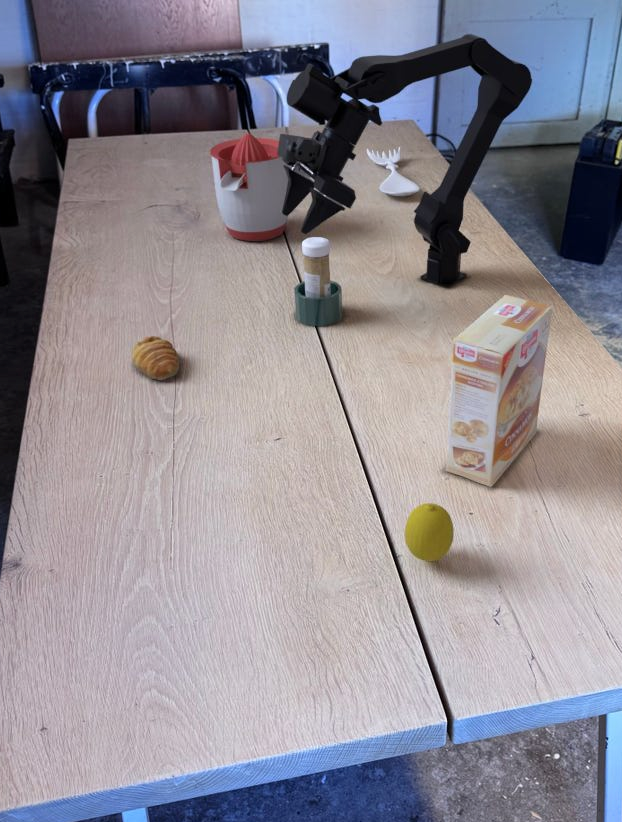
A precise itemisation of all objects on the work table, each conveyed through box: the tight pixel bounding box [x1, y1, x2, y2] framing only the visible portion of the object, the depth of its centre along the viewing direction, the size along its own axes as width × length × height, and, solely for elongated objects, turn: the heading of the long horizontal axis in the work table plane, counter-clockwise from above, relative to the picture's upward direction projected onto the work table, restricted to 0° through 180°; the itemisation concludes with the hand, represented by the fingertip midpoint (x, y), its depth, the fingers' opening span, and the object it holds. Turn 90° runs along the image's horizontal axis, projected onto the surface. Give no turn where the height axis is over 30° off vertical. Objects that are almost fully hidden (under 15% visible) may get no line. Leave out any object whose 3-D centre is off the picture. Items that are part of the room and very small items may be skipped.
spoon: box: [366, 146, 420, 197], centre depth 208 cm, size 9×32×4 cm, turn 7°
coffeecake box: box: [445, 294, 554, 488], centre depth 113 cm, size 15×7×20 cm, turn 148°
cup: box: [293, 279, 343, 327], centre depth 151 cm, size 8×8×5 cm
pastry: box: [131, 335, 180, 381], centre depth 137 cm, size 9×7×4 cm
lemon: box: [404, 502, 455, 562], centre depth 99 cm, size 6×6×8 cm
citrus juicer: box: [209, 132, 289, 242], centre depth 177 cm, size 16×17×20 cm
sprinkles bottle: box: [301, 236, 331, 298], centre depth 148 cm, size 5×5×13 cm
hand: (293, 223), depth 146 cm, fingers open, 9 cm apart
